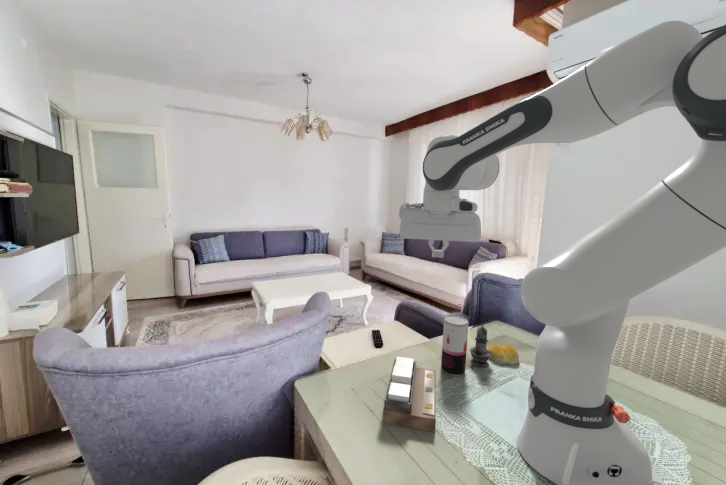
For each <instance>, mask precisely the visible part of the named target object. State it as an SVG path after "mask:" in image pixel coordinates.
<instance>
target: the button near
mask: <svg viewBox="0 0 726 485" xmlns="http://www.w3.org/2000/svg"><path fill="white" fill-rule="evenodd" d="M409 398H410V385H406V384H399V383H393V382H391V385H390V389H389V393H388V400H394V401H400V402H406V403H409Z"/></svg>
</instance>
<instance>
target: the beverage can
mask: <svg viewBox="0 0 726 485" xmlns="http://www.w3.org/2000/svg"><path fill="white" fill-rule="evenodd" d="M442 330H443V332H442V346H441V363H440V368H441V370H442V371H443V372H444V373H445V374H447V375H449V376H454V377H457V376H458V377H460V376H462V375H463V374H465V372H466V364H467V351H468V350H467V348H468V336H469V335H468V334H469V320H468V319H467V318H464V317H462V316H459V315H448V316H445V317H444V320H443V329H442Z"/></svg>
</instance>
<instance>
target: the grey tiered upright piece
mask: <svg viewBox="0 0 726 485" xmlns="http://www.w3.org/2000/svg"><path fill="white" fill-rule="evenodd" d="M474 340H475V346H474V347H471V348H470V349H469V352H470V356H471V357H472V358H471V359H470V360H469V362H470V364H471V365H472V366H474V367H476V368H480V369H487V368H488V367H489V366H490V363H489V362H488V360H490V356H491V352H490V351H489V350H487V349H488V347H487V343H488V342H489V339H488V330H487V329H486V328H485V326H484V324H481V327H478V328H477V330H476V337H475V338H474Z"/></svg>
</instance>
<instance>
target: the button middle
mask: <svg viewBox="0 0 726 485" xmlns="http://www.w3.org/2000/svg"><path fill="white" fill-rule="evenodd" d="M411 380H412V367H404V366H397V365H394V369H393V373H392V382H393V383H399V384H406V385H410V386H411Z"/></svg>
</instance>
